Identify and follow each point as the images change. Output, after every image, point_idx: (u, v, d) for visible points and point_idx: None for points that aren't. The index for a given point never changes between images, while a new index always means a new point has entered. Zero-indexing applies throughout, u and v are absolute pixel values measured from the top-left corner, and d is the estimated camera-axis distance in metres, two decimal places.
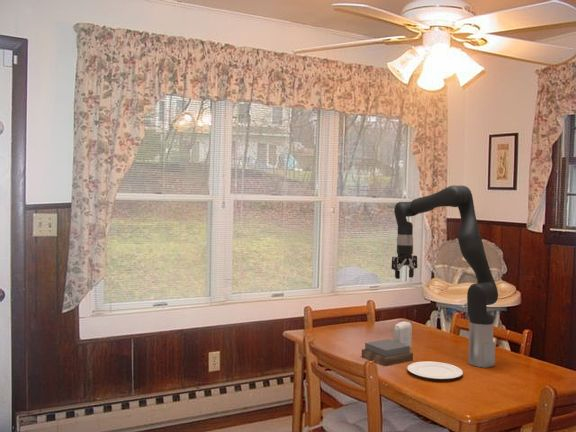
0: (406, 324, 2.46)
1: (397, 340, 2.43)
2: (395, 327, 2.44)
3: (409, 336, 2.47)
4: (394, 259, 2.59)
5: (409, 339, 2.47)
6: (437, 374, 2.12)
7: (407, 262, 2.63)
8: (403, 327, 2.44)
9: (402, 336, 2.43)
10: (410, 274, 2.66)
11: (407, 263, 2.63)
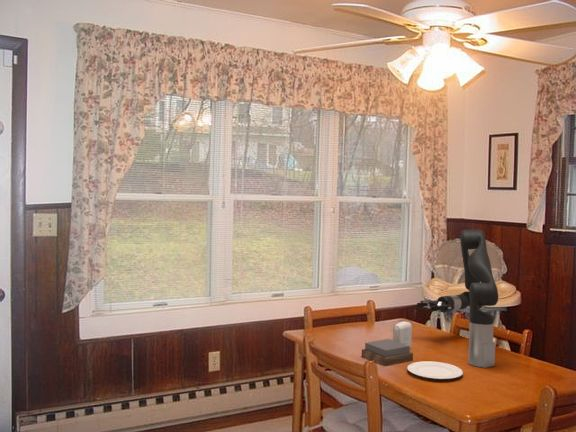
0: (406, 324, 2.46)
1: (397, 340, 2.43)
2: (395, 327, 2.44)
3: (409, 336, 2.47)
4: None
5: (409, 339, 2.47)
6: (437, 374, 2.12)
7: (437, 303, 2.56)
8: (403, 327, 2.44)
9: (402, 336, 2.43)
10: None
11: (436, 303, 2.56)
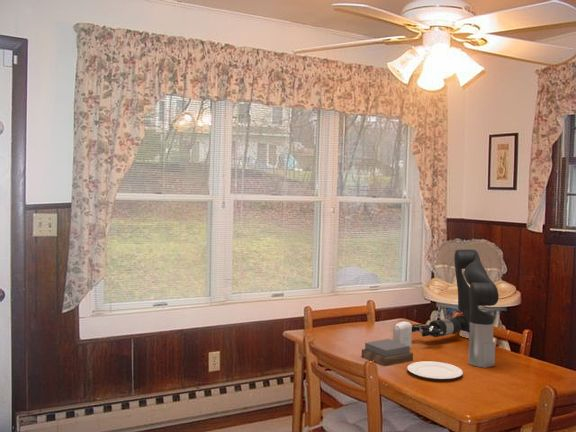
0: (406, 324, 2.46)
1: (397, 340, 2.43)
2: (395, 327, 2.44)
3: (409, 336, 2.47)
4: None
5: (409, 339, 2.47)
6: (437, 374, 2.12)
7: (428, 328, 2.54)
8: (403, 327, 2.44)
9: (402, 336, 2.43)
10: None
11: (428, 328, 2.54)
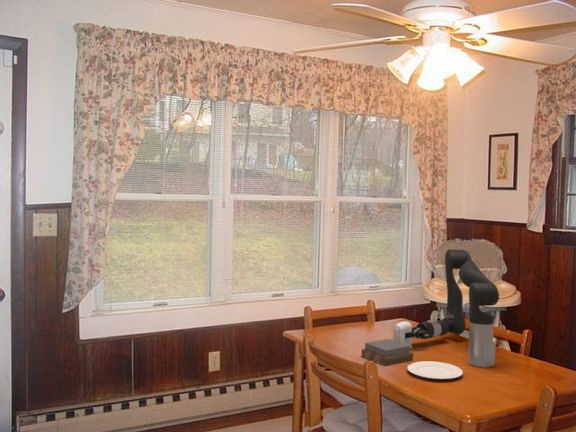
0: (406, 324, 2.46)
1: (397, 340, 2.43)
2: (395, 327, 2.44)
3: None
4: None
5: (409, 339, 2.47)
6: (437, 374, 2.12)
7: None
8: (403, 327, 2.44)
9: (402, 336, 2.43)
10: None
11: (414, 329, 2.50)
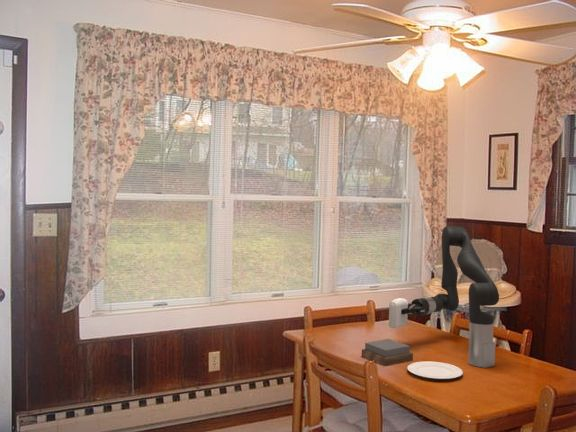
0: (402, 300, 2.43)
1: (393, 316, 2.40)
2: (391, 303, 2.41)
3: None
4: None
5: (405, 316, 2.45)
6: (437, 374, 2.12)
7: (411, 306, 2.48)
8: (399, 303, 2.41)
9: (398, 312, 2.41)
10: None
11: (410, 306, 2.48)
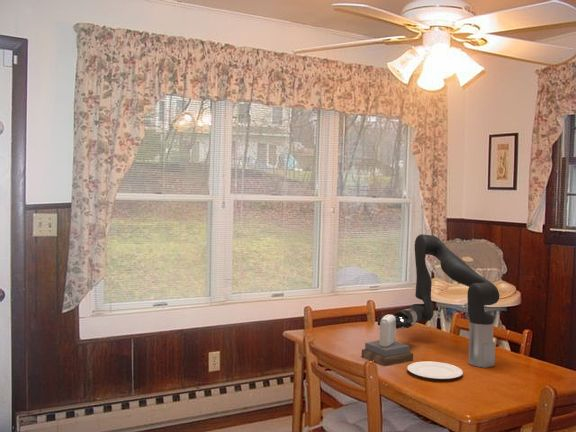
0: (392, 317, 2.32)
1: (385, 334, 2.28)
2: (383, 321, 2.29)
3: (394, 330, 2.34)
4: None
5: (394, 333, 2.34)
6: (437, 374, 2.12)
7: (397, 319, 2.38)
8: (390, 320, 2.30)
9: (390, 330, 2.29)
10: None
11: (397, 319, 2.38)
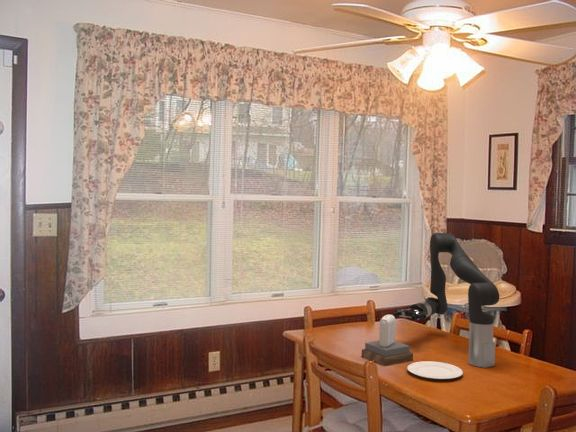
0: (392, 317, 2.32)
1: (385, 335, 2.28)
2: (382, 321, 2.29)
3: (394, 330, 2.34)
4: None
5: (394, 333, 2.34)
6: (437, 374, 2.12)
7: (413, 311, 2.49)
8: (390, 320, 2.30)
9: (389, 330, 2.29)
10: None
11: (412, 312, 2.48)
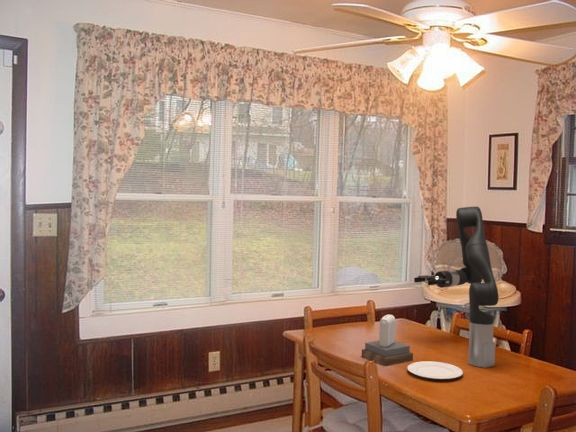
0: (392, 317, 2.32)
1: (385, 335, 2.28)
2: (382, 321, 2.29)
3: (394, 330, 2.34)
4: None
5: (394, 333, 2.34)
6: (437, 374, 2.12)
7: (434, 278, 2.52)
8: (390, 320, 2.30)
9: (389, 330, 2.29)
10: None
11: (434, 278, 2.52)
